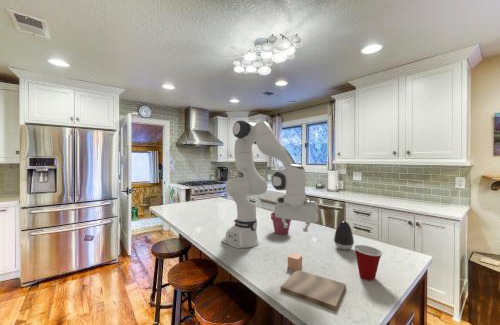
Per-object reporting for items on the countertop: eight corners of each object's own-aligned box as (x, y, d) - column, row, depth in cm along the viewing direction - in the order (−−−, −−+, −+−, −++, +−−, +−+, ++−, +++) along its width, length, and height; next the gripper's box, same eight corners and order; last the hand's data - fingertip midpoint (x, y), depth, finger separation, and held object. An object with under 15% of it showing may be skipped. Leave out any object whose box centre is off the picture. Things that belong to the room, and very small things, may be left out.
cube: (287, 267, 103) (287, 256, 103) (292, 263, 107) (292, 253, 107) (298, 270, 100) (298, 259, 100) (302, 266, 105) (302, 255, 105)
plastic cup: (388, 283, 90) (389, 253, 90) (362, 284, 89) (363, 254, 89) (371, 270, 101) (372, 243, 101) (348, 271, 100) (349, 244, 100)
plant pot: (266, 231, 154) (266, 213, 154) (280, 227, 163) (280, 210, 163) (282, 237, 143) (282, 217, 143) (296, 232, 152) (296, 213, 152)
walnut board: (280, 290, 85) (280, 286, 85) (296, 272, 98) (296, 269, 98) (335, 310, 74) (335, 306, 74) (345, 287, 87) (345, 283, 87)
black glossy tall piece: (334, 250, 123) (334, 222, 123) (333, 243, 133) (334, 218, 132) (354, 253, 119) (354, 224, 119) (352, 246, 129) (353, 219, 129)
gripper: (320, 201, 100) (320, 231, 100) (279, 196, 112) (278, 224, 112) (316, 203, 95) (315, 235, 95) (273, 198, 106) (272, 227, 107)
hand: (295, 229), depth 104 cm, fingers open, 8 cm apart
